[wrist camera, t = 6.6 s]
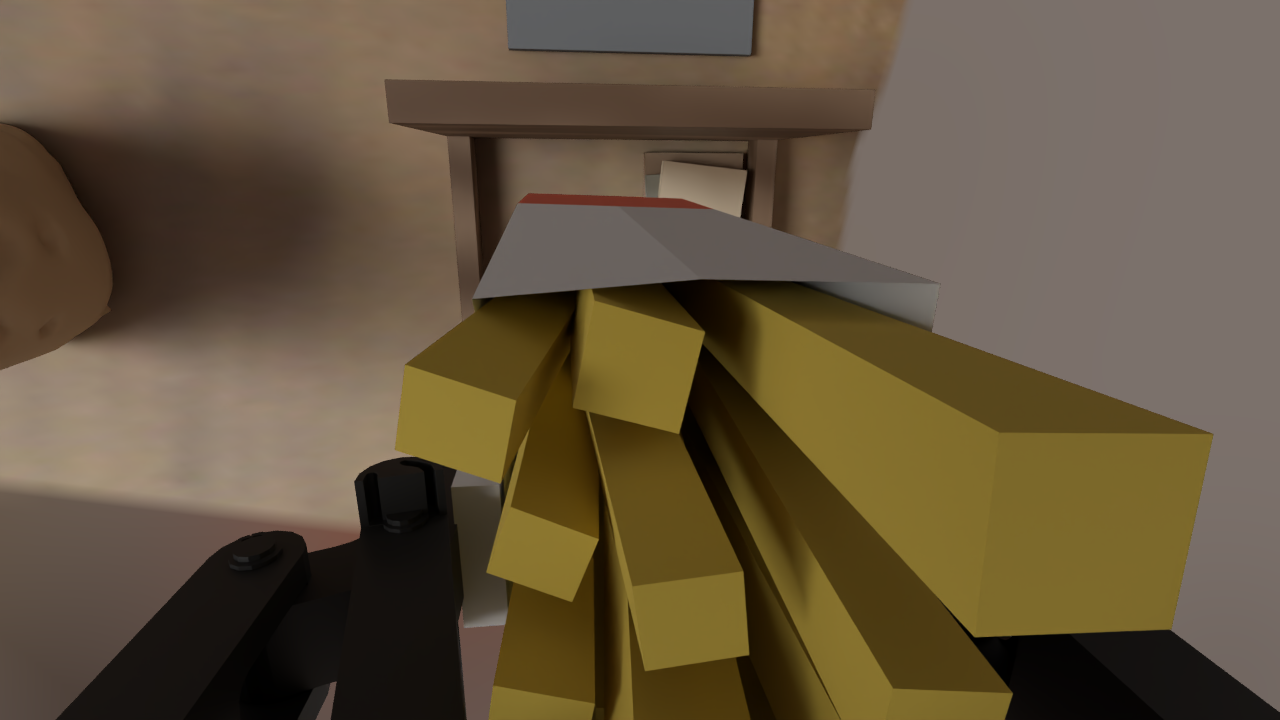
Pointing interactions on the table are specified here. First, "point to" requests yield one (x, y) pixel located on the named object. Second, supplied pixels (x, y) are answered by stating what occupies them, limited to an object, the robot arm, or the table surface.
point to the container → (44, 254)
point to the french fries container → (777, 477)
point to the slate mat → (632, 26)
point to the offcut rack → (625, 137)
